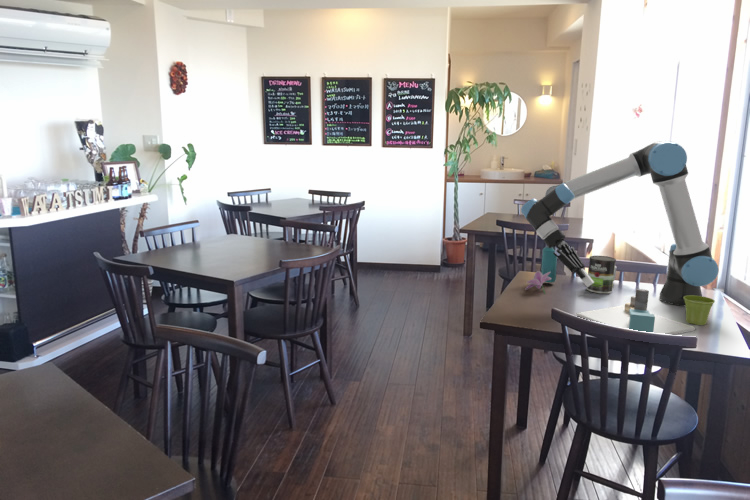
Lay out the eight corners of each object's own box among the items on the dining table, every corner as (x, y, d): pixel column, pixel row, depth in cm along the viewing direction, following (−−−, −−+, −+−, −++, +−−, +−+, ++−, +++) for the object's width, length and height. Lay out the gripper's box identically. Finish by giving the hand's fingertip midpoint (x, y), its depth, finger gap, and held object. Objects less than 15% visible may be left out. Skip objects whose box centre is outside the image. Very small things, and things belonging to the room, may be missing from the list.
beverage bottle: (557, 286, 240) (561, 240, 236) (542, 285, 239) (545, 240, 235) (552, 282, 246) (556, 238, 242) (537, 282, 246) (541, 238, 242)
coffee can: (607, 295, 226) (611, 261, 223) (582, 290, 233) (585, 257, 230) (616, 290, 234) (619, 257, 231) (591, 285, 240) (594, 254, 238)
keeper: (626, 320, 190) (628, 305, 189) (648, 323, 188) (650, 307, 187) (629, 330, 180) (631, 314, 179) (653, 333, 178) (655, 316, 177)
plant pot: (691, 327, 187) (694, 302, 186) (674, 318, 197) (677, 295, 195) (717, 327, 188) (721, 302, 186) (700, 318, 197) (703, 295, 195)
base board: (624, 307, 209) (625, 304, 209) (694, 330, 184) (694, 327, 184) (576, 315, 198) (576, 313, 198) (643, 341, 174) (643, 338, 174)
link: (622, 307, 205) (625, 281, 203) (640, 308, 203) (643, 282, 201) (636, 325, 184) (639, 296, 182) (655, 327, 183) (659, 298, 181)
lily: (555, 292, 233) (548, 271, 235) (560, 288, 221) (552, 266, 224) (527, 300, 234) (520, 279, 236) (531, 297, 223) (523, 274, 225)
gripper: (552, 238, 217) (590, 287, 209) (536, 242, 208) (575, 293, 200) (566, 226, 213) (605, 275, 205) (550, 230, 203) (591, 282, 195)
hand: (590, 284), depth 202 cm, fingers closed
